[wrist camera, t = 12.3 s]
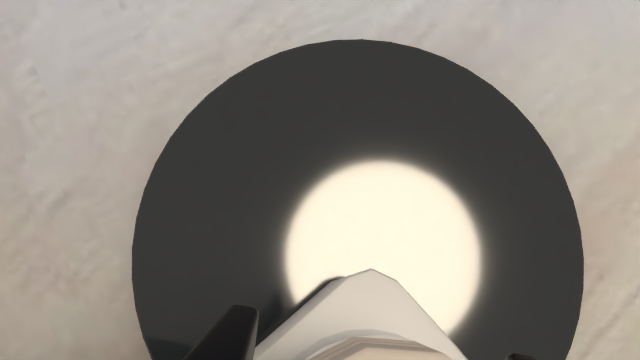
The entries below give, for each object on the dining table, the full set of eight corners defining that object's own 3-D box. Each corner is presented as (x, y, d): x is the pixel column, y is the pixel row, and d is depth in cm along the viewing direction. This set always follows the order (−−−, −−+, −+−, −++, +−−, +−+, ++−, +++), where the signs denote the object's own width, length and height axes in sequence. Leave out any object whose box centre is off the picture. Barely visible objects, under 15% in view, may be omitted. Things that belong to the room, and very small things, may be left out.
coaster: (225, 565, 15) (222, 576, 15) (79, 131, 17) (71, 125, 17) (648, 383, 16) (661, 386, 16) (470, -10, 18) (475, -19, 18)
